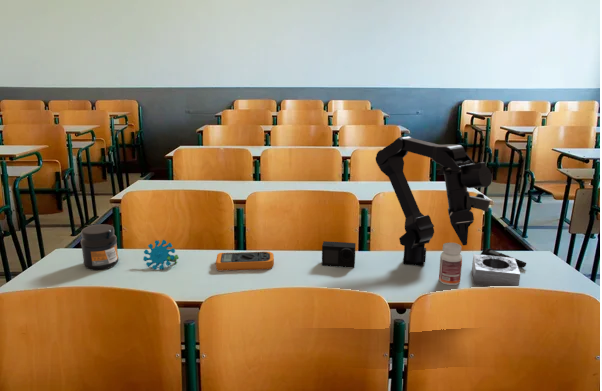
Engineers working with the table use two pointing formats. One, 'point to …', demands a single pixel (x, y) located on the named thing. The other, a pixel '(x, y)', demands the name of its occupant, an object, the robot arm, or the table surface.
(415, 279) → the table surface
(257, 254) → the multimeter
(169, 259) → the toy virus model
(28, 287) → the table surface
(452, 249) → the pill bottle
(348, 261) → the digital camera
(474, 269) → the grey square holder
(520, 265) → the electric trimmer
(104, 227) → the supplement container
